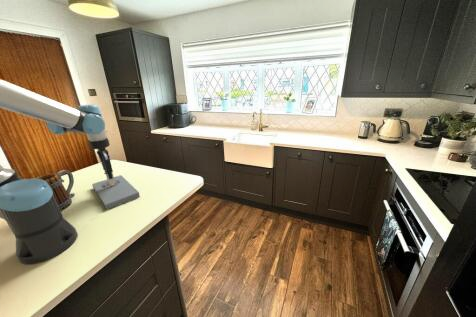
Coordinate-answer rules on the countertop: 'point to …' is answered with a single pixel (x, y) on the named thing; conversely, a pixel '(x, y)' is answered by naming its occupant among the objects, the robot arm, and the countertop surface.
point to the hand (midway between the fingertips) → (112, 183)
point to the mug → (60, 188)
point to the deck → (115, 192)
